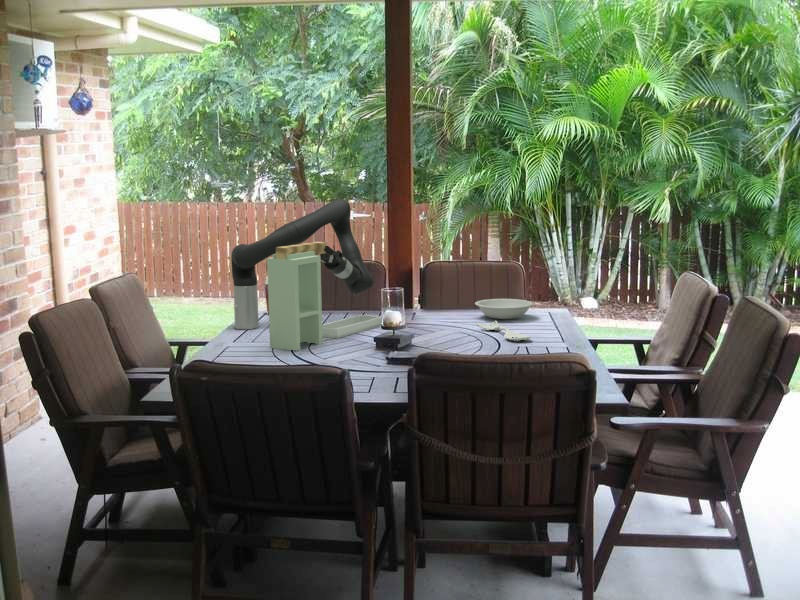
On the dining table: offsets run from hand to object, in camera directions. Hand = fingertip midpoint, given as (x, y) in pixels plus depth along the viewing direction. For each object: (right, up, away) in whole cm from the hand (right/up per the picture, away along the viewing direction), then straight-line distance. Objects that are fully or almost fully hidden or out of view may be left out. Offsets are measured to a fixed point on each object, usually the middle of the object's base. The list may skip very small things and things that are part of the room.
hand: (316, 247), depth 330 cm
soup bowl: (+74, -27, +45) cm, 91 cm away
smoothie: (-24, -25, +63) cm, 72 cm away
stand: (-6, -36, -6) cm, 37 cm away
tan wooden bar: (-4, -3, -7) cm, 9 cm away
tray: (+11, -31, +22) cm, 40 cm away
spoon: (+70, -33, +9) cm, 78 cm away
